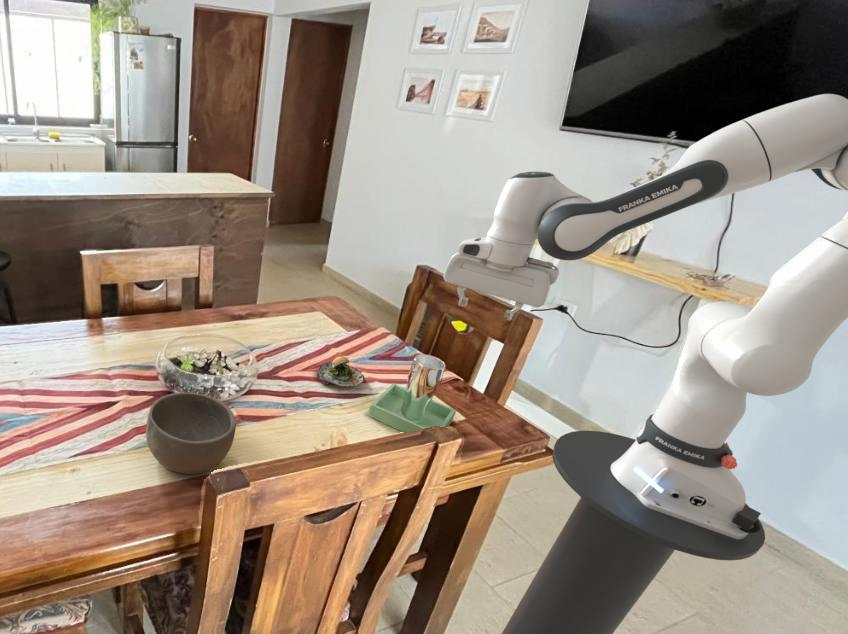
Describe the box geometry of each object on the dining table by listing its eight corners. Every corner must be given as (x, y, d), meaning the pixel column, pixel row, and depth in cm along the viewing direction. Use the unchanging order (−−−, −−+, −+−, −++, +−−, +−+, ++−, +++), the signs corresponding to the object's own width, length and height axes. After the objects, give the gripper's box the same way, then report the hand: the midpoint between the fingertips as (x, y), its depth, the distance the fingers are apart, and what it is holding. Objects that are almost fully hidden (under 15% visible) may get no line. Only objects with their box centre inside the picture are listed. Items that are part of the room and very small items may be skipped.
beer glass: (394, 405, 125) (411, 351, 118) (424, 410, 124) (443, 357, 117) (398, 421, 119) (416, 366, 112) (429, 427, 118) (449, 372, 111)
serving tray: (452, 420, 122) (456, 410, 121) (433, 446, 113) (438, 435, 111) (389, 393, 131) (393, 383, 129) (367, 415, 121) (370, 404, 120)
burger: (322, 390, 129) (328, 364, 125) (312, 366, 139) (318, 341, 136) (368, 393, 130) (376, 368, 126) (355, 369, 140) (362, 345, 137)
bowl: (213, 423, 113) (218, 385, 108) (244, 479, 98) (251, 438, 93) (135, 433, 107) (137, 393, 102) (155, 495, 92) (158, 451, 88)
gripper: (564, 261, 104) (539, 323, 110) (459, 237, 115) (442, 294, 121) (560, 268, 99) (534, 332, 106) (451, 242, 110) (433, 302, 116)
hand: (484, 312), depth 113 cm, fingers open, 8 cm apart
